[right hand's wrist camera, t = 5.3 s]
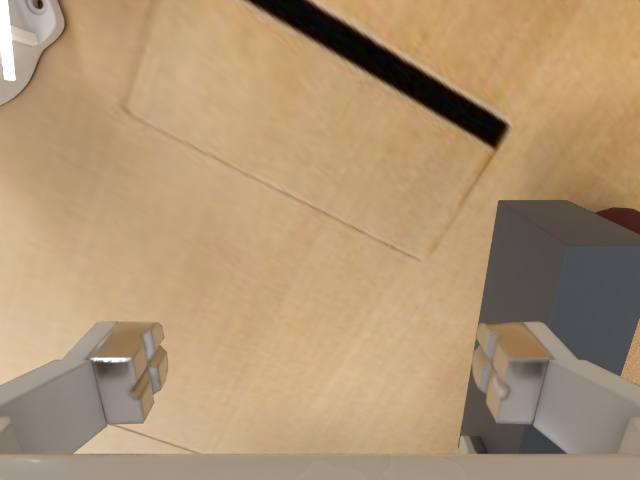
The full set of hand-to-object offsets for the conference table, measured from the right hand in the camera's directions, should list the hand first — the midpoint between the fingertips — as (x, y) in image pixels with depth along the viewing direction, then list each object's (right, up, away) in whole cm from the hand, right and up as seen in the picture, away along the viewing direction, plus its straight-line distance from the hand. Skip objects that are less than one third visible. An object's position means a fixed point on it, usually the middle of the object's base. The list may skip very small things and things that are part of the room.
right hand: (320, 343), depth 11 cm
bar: (+15, -5, +22) cm, 27 cm away
